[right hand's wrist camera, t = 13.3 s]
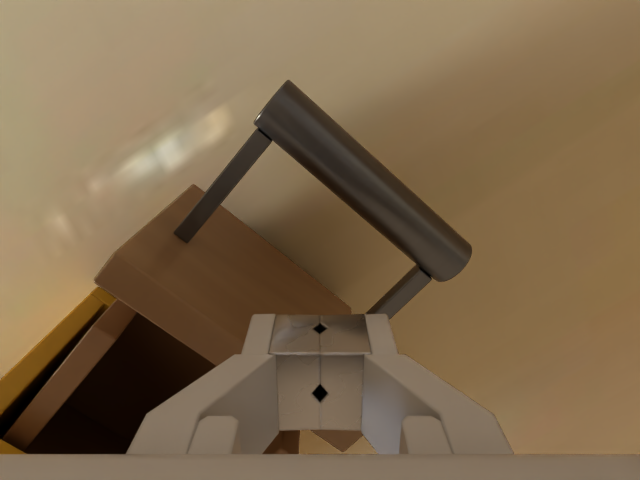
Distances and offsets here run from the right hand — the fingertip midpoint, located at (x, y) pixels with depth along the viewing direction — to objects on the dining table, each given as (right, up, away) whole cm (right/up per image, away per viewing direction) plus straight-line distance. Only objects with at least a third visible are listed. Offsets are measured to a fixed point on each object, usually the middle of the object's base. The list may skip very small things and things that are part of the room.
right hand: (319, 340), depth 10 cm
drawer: (-4, -1, +11) cm, 12 cm away
